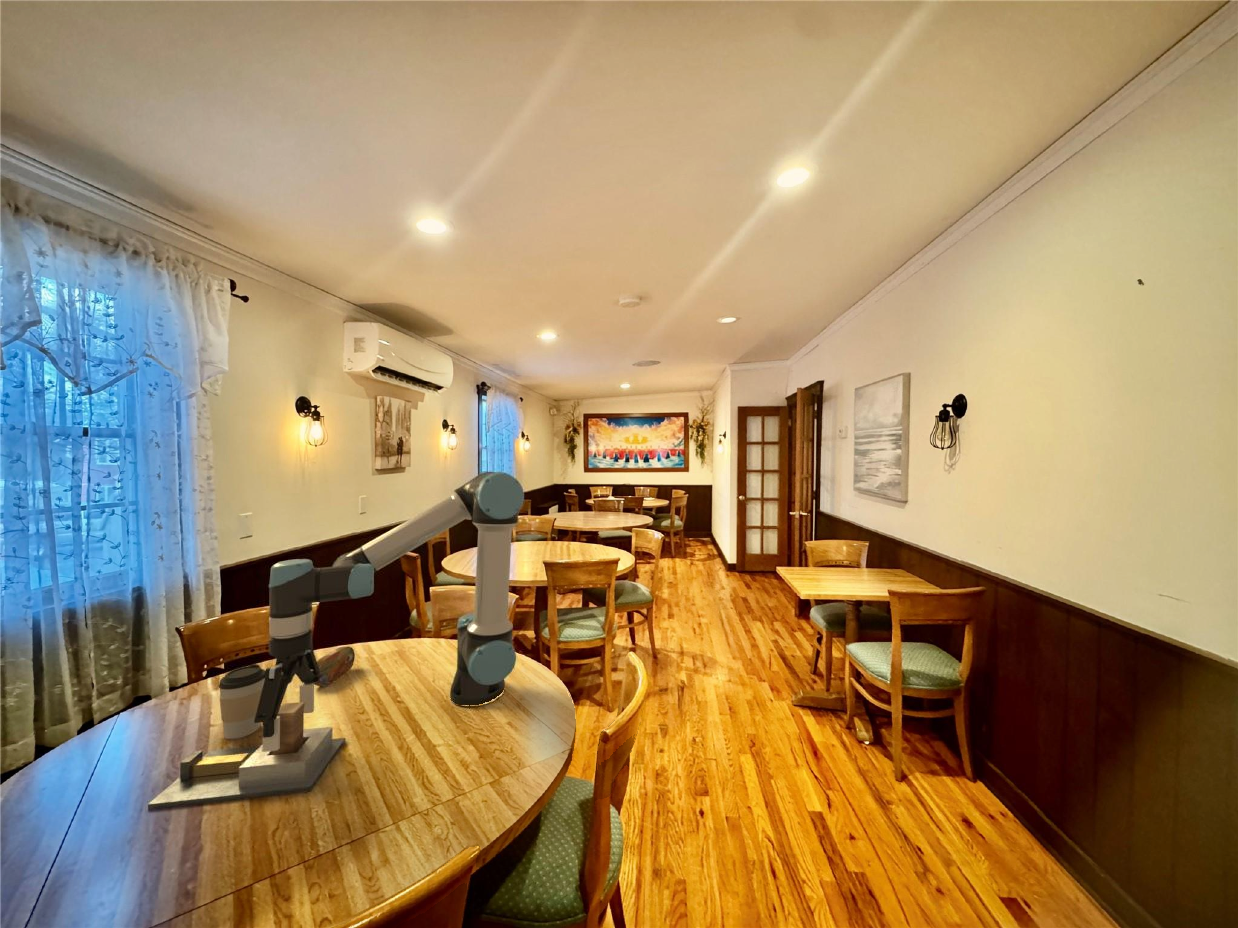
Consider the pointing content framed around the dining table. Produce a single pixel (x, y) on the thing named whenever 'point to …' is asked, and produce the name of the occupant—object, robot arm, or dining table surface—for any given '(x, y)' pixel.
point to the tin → (335, 665)
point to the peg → (291, 727)
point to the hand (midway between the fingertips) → (290, 729)
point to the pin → (210, 765)
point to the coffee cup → (241, 700)
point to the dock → (258, 773)
